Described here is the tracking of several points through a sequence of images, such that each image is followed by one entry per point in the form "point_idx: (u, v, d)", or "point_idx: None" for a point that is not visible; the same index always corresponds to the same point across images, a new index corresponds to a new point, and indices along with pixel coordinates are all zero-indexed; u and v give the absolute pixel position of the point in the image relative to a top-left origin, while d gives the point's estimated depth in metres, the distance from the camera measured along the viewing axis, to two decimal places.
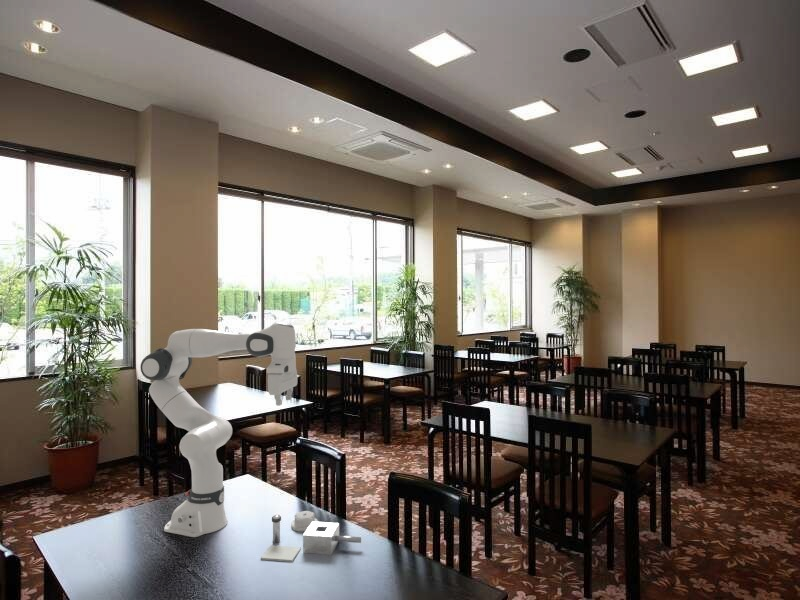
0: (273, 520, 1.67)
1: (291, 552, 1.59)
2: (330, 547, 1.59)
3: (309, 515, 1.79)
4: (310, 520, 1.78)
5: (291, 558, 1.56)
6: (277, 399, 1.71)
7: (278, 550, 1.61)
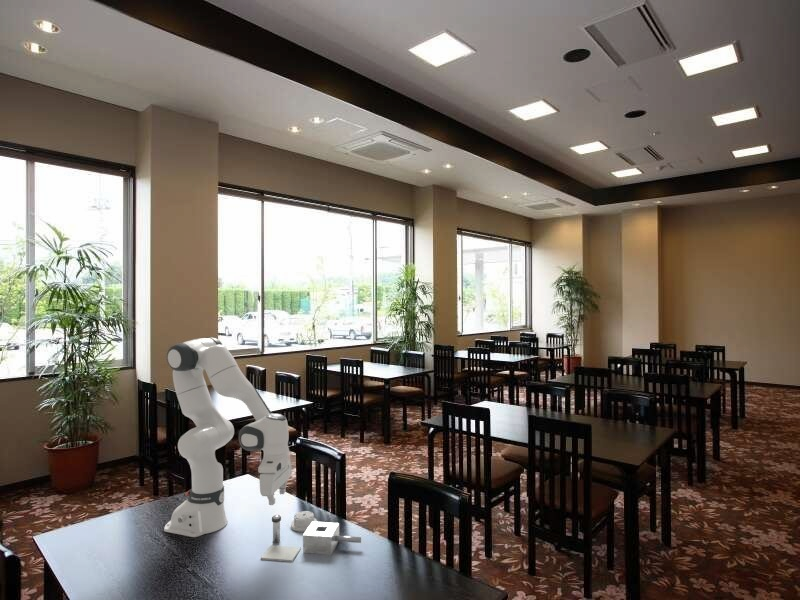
0: (273, 520, 1.67)
1: (291, 552, 1.59)
2: (330, 547, 1.59)
3: (308, 515, 1.79)
4: (309, 520, 1.77)
5: (291, 558, 1.56)
6: (270, 499, 1.62)
7: (278, 550, 1.61)
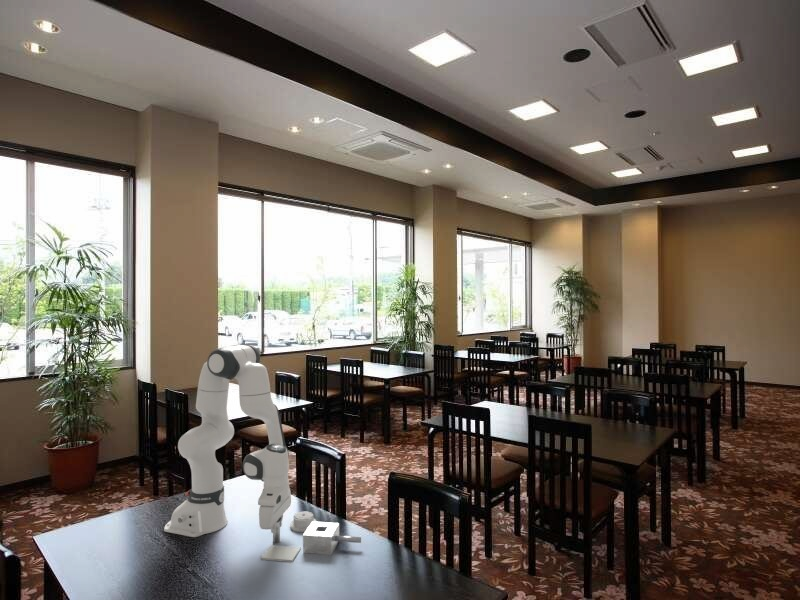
0: None
1: (291, 552, 1.59)
2: (330, 547, 1.59)
3: (308, 515, 1.79)
4: (309, 520, 1.77)
5: (291, 558, 1.56)
6: (273, 527, 1.65)
7: (278, 550, 1.61)
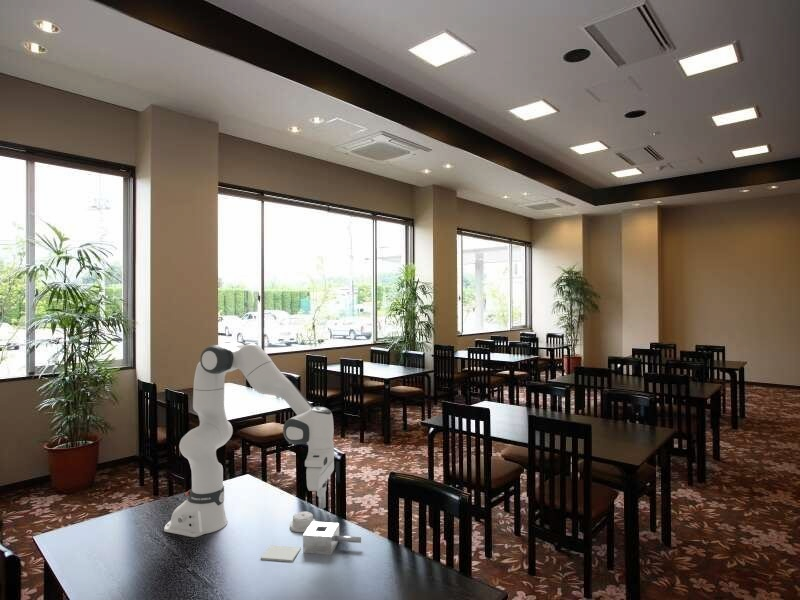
0: None
1: (291, 552, 1.59)
2: (330, 547, 1.59)
3: (307, 516, 1.79)
4: (308, 521, 1.77)
5: (291, 558, 1.56)
6: (319, 490, 1.62)
7: (278, 550, 1.61)
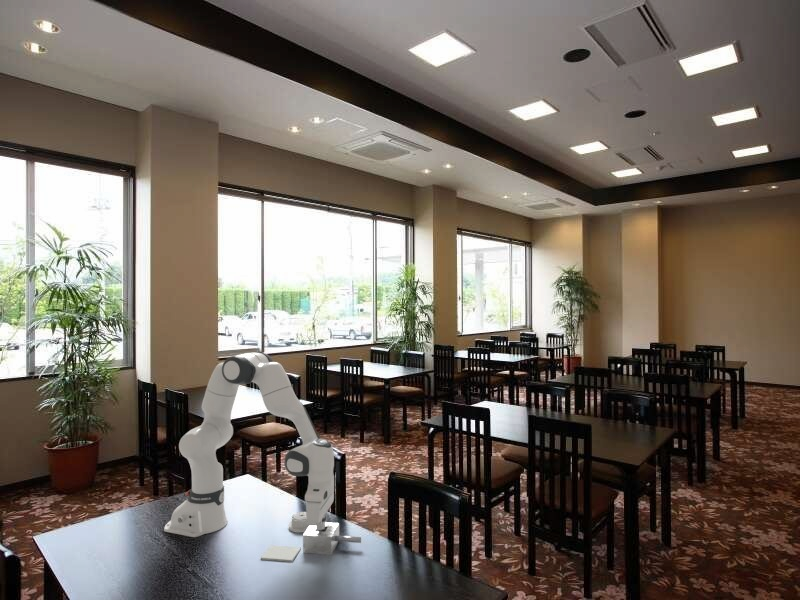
0: None
1: (291, 552, 1.59)
2: (330, 547, 1.59)
3: (306, 516, 1.79)
4: None
5: (291, 558, 1.56)
6: (318, 523, 1.62)
7: (278, 550, 1.61)
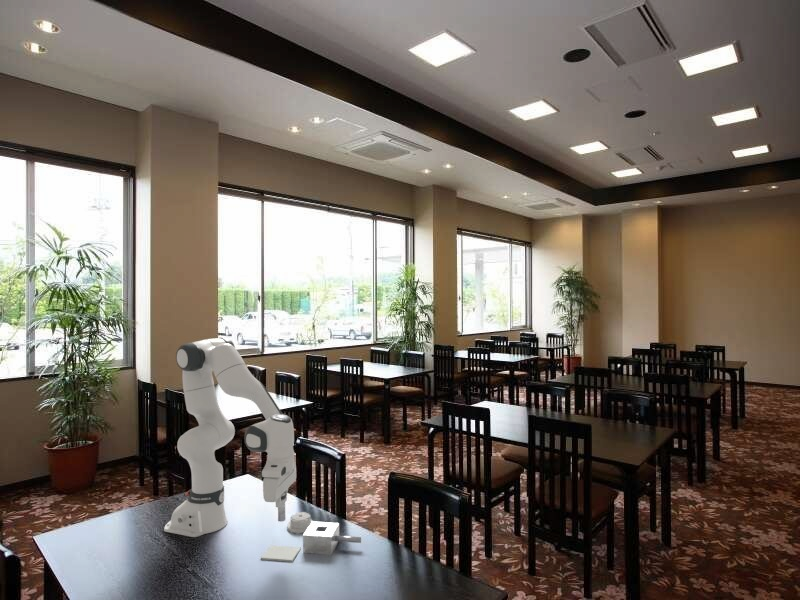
0: None
1: (291, 552, 1.59)
2: (330, 547, 1.59)
3: (305, 516, 1.78)
4: (306, 521, 1.76)
5: (291, 558, 1.56)
6: (277, 501, 1.57)
7: (278, 550, 1.61)
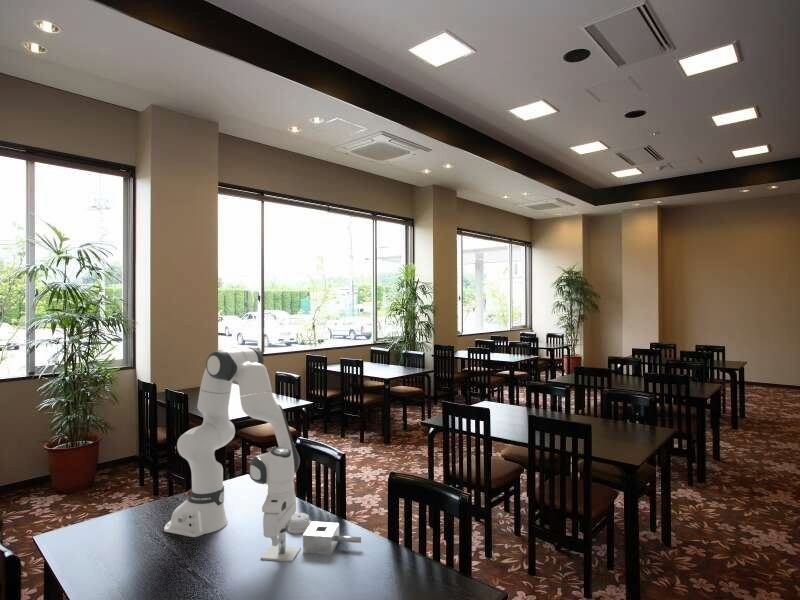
0: None
1: (291, 552, 1.59)
2: (330, 547, 1.59)
3: (304, 517, 1.78)
4: (305, 522, 1.76)
5: (291, 558, 1.56)
6: (274, 540, 1.54)
7: None
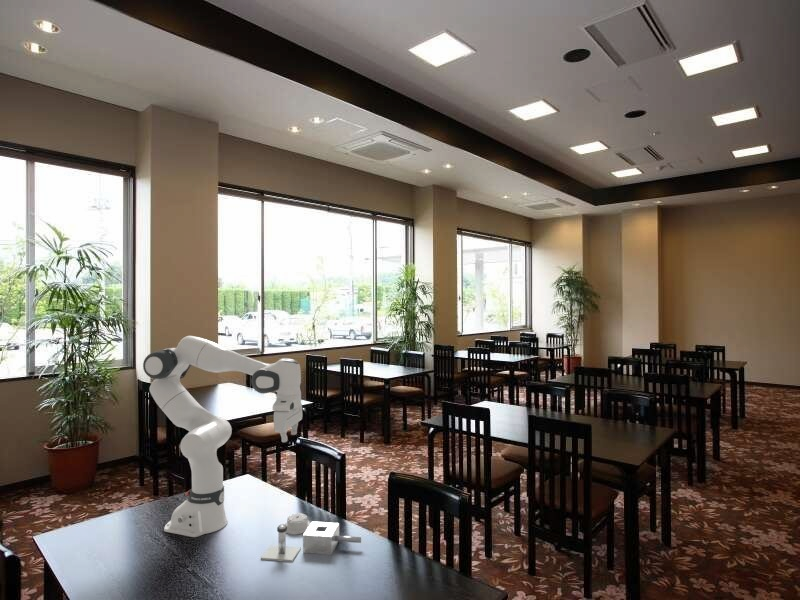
0: (279, 530, 1.58)
1: (291, 552, 1.59)
2: (330, 547, 1.59)
3: (302, 518, 1.77)
4: (303, 523, 1.76)
5: (291, 558, 1.56)
6: (283, 436, 1.72)
7: None
